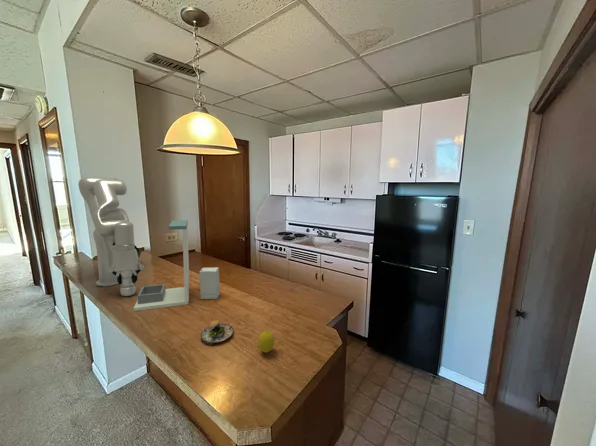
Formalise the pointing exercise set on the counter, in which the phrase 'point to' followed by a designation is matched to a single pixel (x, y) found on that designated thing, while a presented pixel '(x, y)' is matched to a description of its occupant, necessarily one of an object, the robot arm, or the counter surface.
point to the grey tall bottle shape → (127, 282)
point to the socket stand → (157, 293)
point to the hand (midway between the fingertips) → (127, 282)
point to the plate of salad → (216, 333)
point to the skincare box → (209, 283)
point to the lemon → (266, 341)
